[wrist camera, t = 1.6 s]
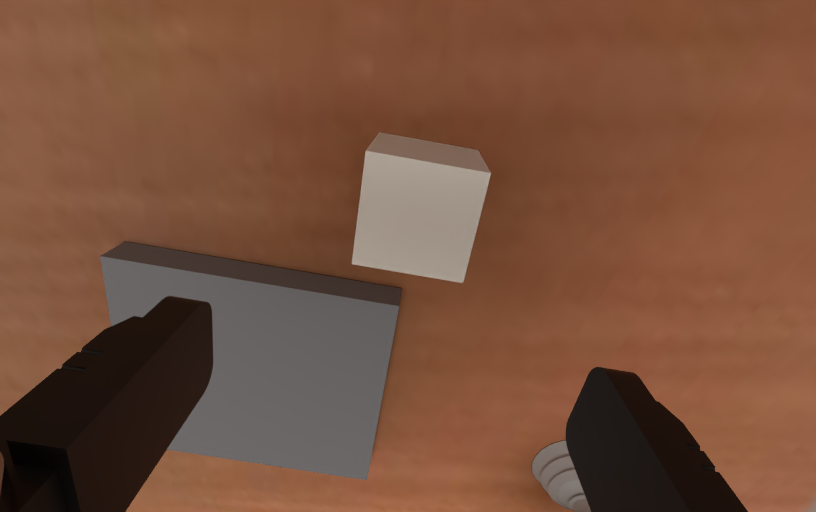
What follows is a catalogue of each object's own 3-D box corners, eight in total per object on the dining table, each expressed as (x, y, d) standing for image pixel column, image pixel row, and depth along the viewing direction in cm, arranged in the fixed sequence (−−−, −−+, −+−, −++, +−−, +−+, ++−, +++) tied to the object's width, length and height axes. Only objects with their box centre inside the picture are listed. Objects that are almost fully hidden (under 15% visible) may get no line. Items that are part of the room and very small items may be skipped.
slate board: (401, 288, 24) (399, 306, 23) (370, 455, 30) (366, 480, 28) (125, 241, 24) (100, 256, 22) (148, 420, 30) (129, 443, 28)
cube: (477, 149, 21) (491, 173, 16) (456, 240, 23) (462, 283, 19) (379, 131, 21) (365, 150, 16) (366, 224, 23) (351, 263, 18)
